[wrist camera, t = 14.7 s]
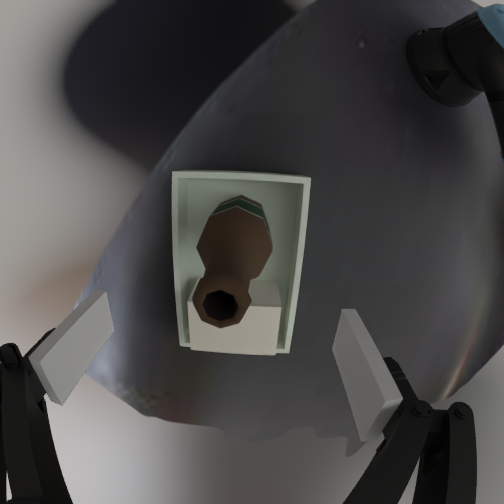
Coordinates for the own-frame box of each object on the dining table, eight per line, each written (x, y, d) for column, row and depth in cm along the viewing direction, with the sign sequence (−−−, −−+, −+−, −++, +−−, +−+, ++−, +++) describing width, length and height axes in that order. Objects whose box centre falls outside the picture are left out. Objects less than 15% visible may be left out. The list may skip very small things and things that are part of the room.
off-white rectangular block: (277, 281, 42) (281, 307, 34) (272, 324, 44) (275, 355, 37) (199, 276, 42) (187, 301, 34) (200, 320, 44) (190, 349, 37)
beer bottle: (213, 245, 40) (164, 350, 17) (214, 192, 38) (152, 242, 15) (266, 248, 40) (278, 359, 17) (270, 195, 38) (291, 248, 15)
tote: (302, 175, 38) (310, 177, 32) (285, 331, 46) (288, 353, 40) (184, 169, 38) (172, 171, 32) (187, 325, 46) (180, 345, 40)
